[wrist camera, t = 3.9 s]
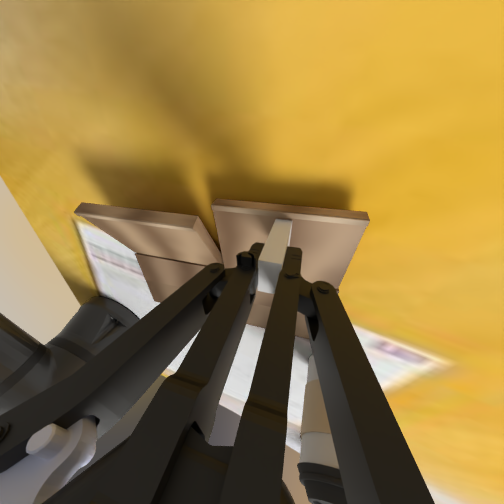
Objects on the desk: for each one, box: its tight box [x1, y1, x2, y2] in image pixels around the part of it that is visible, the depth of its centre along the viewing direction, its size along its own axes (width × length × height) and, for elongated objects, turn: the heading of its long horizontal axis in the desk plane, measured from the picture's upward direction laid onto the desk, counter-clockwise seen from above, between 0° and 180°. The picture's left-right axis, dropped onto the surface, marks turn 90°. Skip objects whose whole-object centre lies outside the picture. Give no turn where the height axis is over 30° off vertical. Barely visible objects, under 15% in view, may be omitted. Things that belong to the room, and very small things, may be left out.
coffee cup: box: [297, 355, 348, 504], centre depth 24 cm, size 9×9×15 cm
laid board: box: [135, 253, 339, 339], centre depth 27 cm, size 28×10×1 cm, turn 90°
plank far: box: [74, 203, 224, 265], centre depth 21 cm, size 14×9×1 cm, turn 90°
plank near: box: [211, 199, 370, 289], centre depth 19 cm, size 14×9×1 cm, turn 90°
